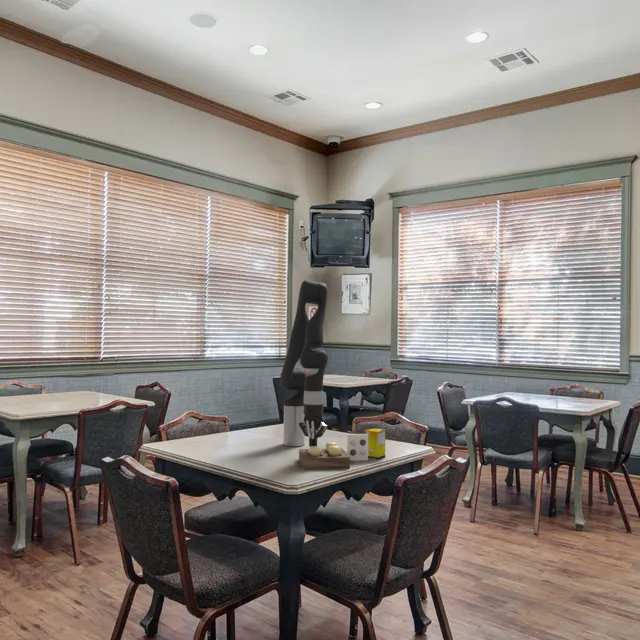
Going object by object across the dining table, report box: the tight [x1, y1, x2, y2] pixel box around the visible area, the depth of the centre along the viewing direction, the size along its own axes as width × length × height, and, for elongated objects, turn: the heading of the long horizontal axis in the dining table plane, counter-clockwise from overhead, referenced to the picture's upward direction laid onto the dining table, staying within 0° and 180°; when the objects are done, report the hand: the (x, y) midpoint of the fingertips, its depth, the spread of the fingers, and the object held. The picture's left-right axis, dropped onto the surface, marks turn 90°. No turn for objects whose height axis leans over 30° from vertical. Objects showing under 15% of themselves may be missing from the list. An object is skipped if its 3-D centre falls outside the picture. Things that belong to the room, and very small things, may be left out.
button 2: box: [309, 445, 322, 457], centre depth 223 cm, size 4×4×3 cm
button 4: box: [329, 445, 341, 456], centre depth 223 cm, size 4×4×3 cm
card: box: [346, 433, 369, 461], centre depth 234 cm, size 1×8×10 cm, turn 97°
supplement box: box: [364, 427, 386, 460], centre depth 240 cm, size 6×6×11 cm
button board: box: [298, 448, 351, 470], centre depth 226 cm, size 17×17×4 cm
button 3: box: [325, 441, 338, 453], centre depth 230 cm, size 4×4×3 cm
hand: (312, 448), depth 230 cm, fingers closed
